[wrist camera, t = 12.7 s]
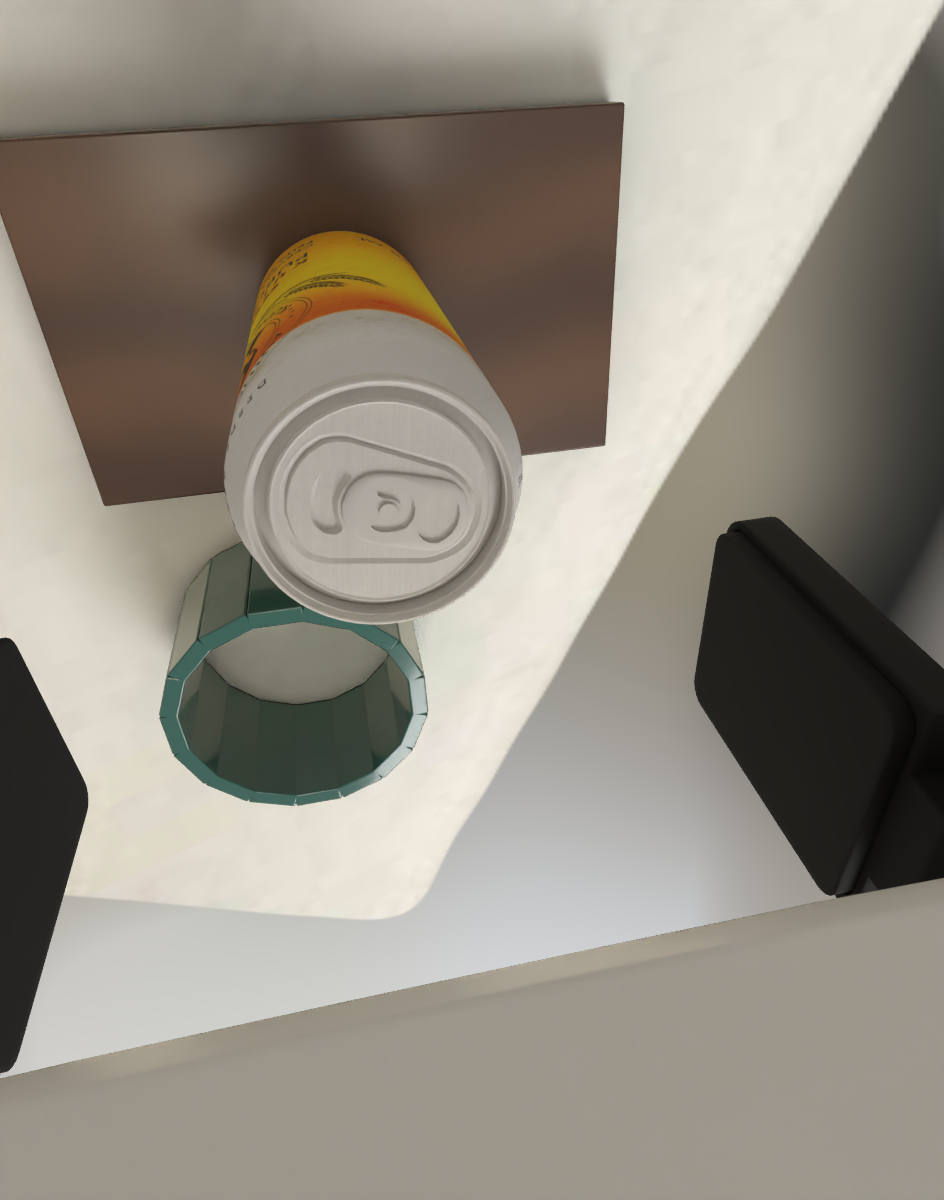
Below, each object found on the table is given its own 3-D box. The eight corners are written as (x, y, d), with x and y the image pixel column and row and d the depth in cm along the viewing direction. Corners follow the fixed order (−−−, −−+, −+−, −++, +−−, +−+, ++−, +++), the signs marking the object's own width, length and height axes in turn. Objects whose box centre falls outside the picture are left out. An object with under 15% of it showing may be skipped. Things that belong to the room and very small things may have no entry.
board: (-10, 138, 23) (-27, 140, 22) (610, 101, 26) (625, 102, 25) (111, 490, 30) (103, 507, 29) (594, 433, 33) (605, 446, 32)
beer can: (264, 207, 25) (230, 323, 12) (445, 250, 26) (574, 387, 14) (248, 389, 28) (209, 627, 15) (412, 417, 29) (494, 650, 17)
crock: (152, 548, 32) (125, 631, 27) (398, 516, 33) (415, 590, 28) (211, 729, 38) (198, 823, 33) (418, 695, 39) (435, 782, 34)
